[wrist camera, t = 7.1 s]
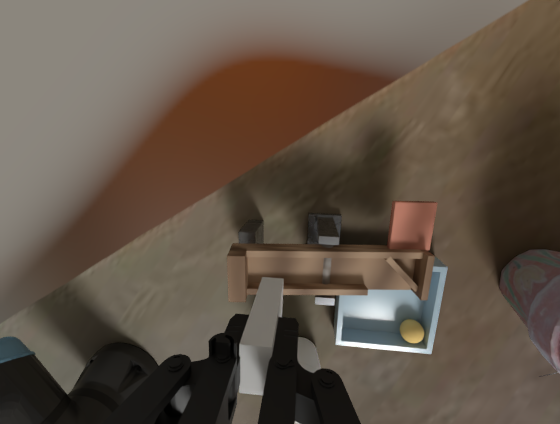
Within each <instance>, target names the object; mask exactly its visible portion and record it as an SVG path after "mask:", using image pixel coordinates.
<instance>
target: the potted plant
mask: <svg viewBox="0 0 560 424" xmlns="http://www.w3.org/2000/svg"><path fill="white" fill-rule="evenodd" d="M499 288H500V290H501V292H502V294H503V296H504V297H505V299H506V300H507V301H508V303H509V304H510V305H511V307H512V308H513V309H514V311H515V312H516V313H517V315H518V316H519V317H520V319H521V320H522V321H523V323H524V324H525V326H526V327H527V328H528V331H529V337H530V339H531V340H532V342H533V343H534V345H535V346H536V347H537V349H538V350H539V352H540V353H541V354H542V355H543V356H544V357H545V359H546V360H547V361H548V362H549V363H550V364H551V365H552V366H553V367H554V368H555V369H556V370H557V373H560V252H557V251H552V250H546V249H536V250H528V251H526V252H524V253H522V254H519V255H517V256H516V257H515V258H513V259H512V260H511V261H510V262H509V263H508V264H507V265H506V266H505V267H504V268H503V270H502V271H501V278H500V284H499ZM553 374H555V373H553ZM548 375H550V374H548ZM544 376H546V375H544ZM540 377H541V376H540Z"/></svg>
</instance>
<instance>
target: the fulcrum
mask: <svg viewBox="0 0 560 424" xmlns="http://www.w3.org/2000/svg"><path fill="white" fill-rule="evenodd" d="M341 217H342V216H341V214H320V213H309V222H308V244H326V245H339V243H340V230H341ZM334 301H335V298H334V295H315V304H320V305H332V306H334Z"/></svg>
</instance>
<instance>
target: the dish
mask: <svg viewBox="0 0 560 424" xmlns="http://www.w3.org/2000/svg"><path fill="white" fill-rule="evenodd" d="M447 268H448V267H447V266H446V265H444V264H443V263H442V262H441V261H440V260H439V259H438V258H436V257H435V260H434V266H433V271H432V277H431V283H430V289H429V294H428V300H420V299H419V298H418V297H417V296H416V295H415V294H414V292H413V291H412V290H368V295H336V302H335V315H334V336H335V345H343V346H354V347H364V348H374V349H385V350H395V351H405V352H415V353H426V354H431V353H432V348H433V343H434V337H435V332H436V327H437V321H438V316H439V311H440V305H441V300H442V295H443V290H444V284H445V279H446V274H447ZM407 319H413V320H415V321H417V322H419V323H420V324H421V326H422V327H423V329H424V337H423V339H422V340H421V341H420V342H419V343H410V342H407V341H406V340H405V339H404V338H403V337H402V336H401V334H400V325H401V323H402V322H403V321H404V320H407Z"/></svg>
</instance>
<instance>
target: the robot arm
mask: <svg viewBox="0 0 560 424" xmlns="http://www.w3.org/2000/svg"><path fill="white" fill-rule="evenodd" d="M283 283H284V279H283V278H270V277H262V279H261V282H260V285H259V288H258V291H257V294H256V297H255V300H254V303H253V306H252V309H251V312H250V315H245V314H235V315H234V316H233V317H232V318H231V319H230V321H229V323H228V326H227V328H226V331H225V332H224V333H220V334H217V335H215V336H213V337H212V338H211V339H210V340H209V358H207V359H204V360H200V361H194V362H191V360H190V358H189V357H188V356H186V355H182V354H178V355H173V356H171V357H169V358H167V359H166V360H165V361H164V362H163V363H162V364H161V365H160V366H159V367H158V365H157V364H156V362H155V361H154V360H153V359H152V358H151V357H150V356H149V355H148V354H147V353H146V352H144V351H143V350H141V349H139V348H137V347H135V346H133V345H129V344H125V343H113V344H109V345H106V346H104V347H103V348H101V349H100V350H99V351H98V352H97V353H96V354H95V355H94V356H93V357H92V358H91V359H90V360H89V362H88V363H87V365H86V367H85V369H84V370H83V372H82V374H81V375H80V377H79V379H78V381H77V382H76V384H75V386H74V388H73V389H72V391H71V392H70V393H69V394H68V395H67V394H66V393H65V391H64V390H63V389H62V388H61V386H60V385H59V384H58V383H57V382H56V380H55V379H54V378H53V377H52V376H51V374H50V373H49V372H48V371H47V369H46V368H45V367H44V366H43V365H42V363H41V362H40V361H39V360H38V359H37V357H36V356H35V352H33V351H30V350H29V349H28V348H27V347H26V346H25V345H24V344H23V343H22V342H21V341H20V340H19V339H18V338H16V337H3V338H0V424H231V423H232V419H233V416H234V412H235V408H236V405H237V392H238V389H239V393H246V394H255V395H263V397H262V403H261V409H260V414H259V420H258V424H295V421H296V422H298V423H300V424H361V423H360V421H359V419H358V416H357V414H356V412H355V409H354V407H353V405H352V402H351V400H350V398H349V395H348V393H347V391H346V389H345V386H344V384H343V382H342V379H341V378H340V376H339V375H338V374H337V373H336V372H334V371H332V370H330V369H323V368H322V369H319V370H317V371H315V372H314V373H312V372H309V371H307V370H305V369H304V368H303V367H302V366H301V365H300V364H299V362H298V359H297V351H298V326H299V324H298V322H297V321H296V319H295V318H286V317H282V307H283Z"/></svg>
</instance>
